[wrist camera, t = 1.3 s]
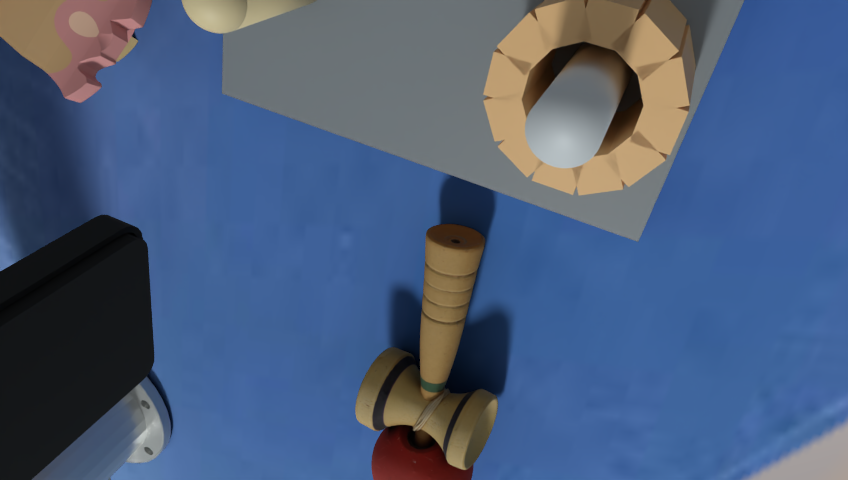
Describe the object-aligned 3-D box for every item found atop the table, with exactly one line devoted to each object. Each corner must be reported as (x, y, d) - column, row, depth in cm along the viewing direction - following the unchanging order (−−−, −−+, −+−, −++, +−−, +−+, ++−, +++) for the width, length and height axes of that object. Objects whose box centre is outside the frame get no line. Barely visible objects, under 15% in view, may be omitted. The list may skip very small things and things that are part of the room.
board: (640, 231, 31) (613, 347, 24) (233, 88, 36) (106, 147, 28) (786, -102, 23) (812, -83, 16) (242, -229, 28) (70, -258, 21)
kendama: (391, 197, 37) (365, 453, 44) (361, 241, 31) (337, 527, 38) (532, 221, 36) (482, 479, 43) (527, 271, 30) (470, 559, 37)
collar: (654, 167, 28) (642, 219, 24) (503, 117, 30) (467, 158, 26) (724, 3, 24) (722, 32, 20) (546, -45, 26) (512, -26, 22)
